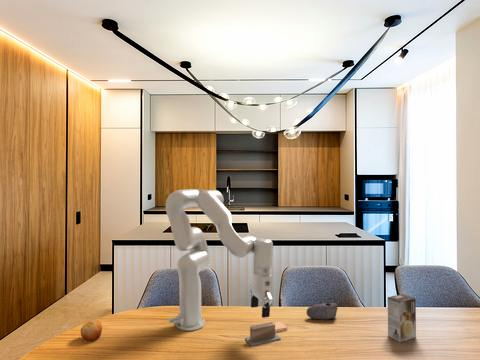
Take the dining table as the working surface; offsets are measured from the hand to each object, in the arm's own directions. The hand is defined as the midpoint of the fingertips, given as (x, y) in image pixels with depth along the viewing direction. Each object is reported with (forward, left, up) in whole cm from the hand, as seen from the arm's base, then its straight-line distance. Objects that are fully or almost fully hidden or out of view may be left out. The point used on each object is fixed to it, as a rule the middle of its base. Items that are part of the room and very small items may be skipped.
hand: (259, 311), depth 132 cm
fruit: (-62, +28, -11) cm, 69 cm away
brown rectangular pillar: (+1, -1, -10) cm, 10 cm away
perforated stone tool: (+35, +6, -11) cm, 38 cm away
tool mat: (+1, -1, -11) cm, 11 cm away
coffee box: (+54, -22, -11) cm, 59 cm away
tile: (+11, +8, -11) cm, 17 cm away
